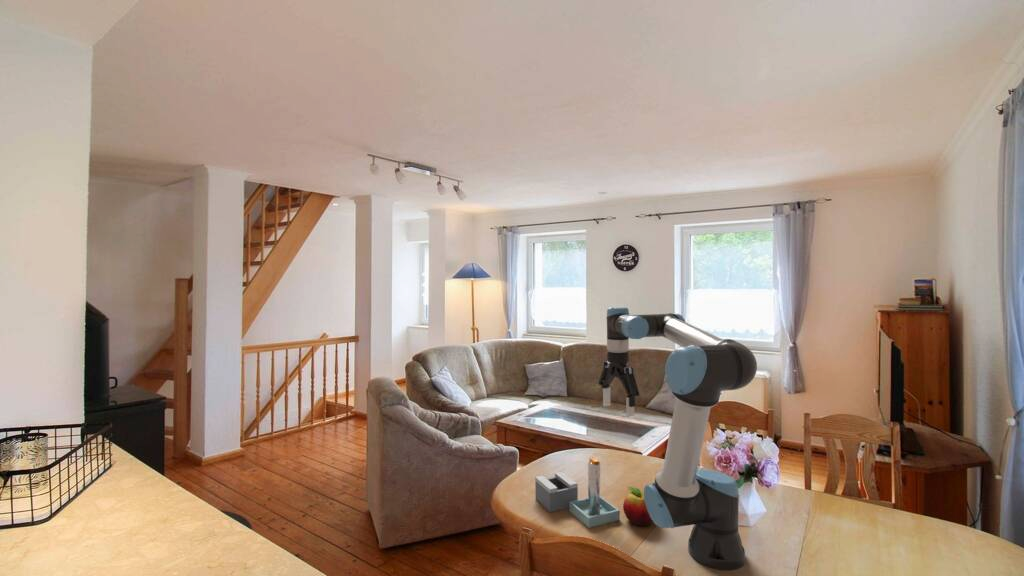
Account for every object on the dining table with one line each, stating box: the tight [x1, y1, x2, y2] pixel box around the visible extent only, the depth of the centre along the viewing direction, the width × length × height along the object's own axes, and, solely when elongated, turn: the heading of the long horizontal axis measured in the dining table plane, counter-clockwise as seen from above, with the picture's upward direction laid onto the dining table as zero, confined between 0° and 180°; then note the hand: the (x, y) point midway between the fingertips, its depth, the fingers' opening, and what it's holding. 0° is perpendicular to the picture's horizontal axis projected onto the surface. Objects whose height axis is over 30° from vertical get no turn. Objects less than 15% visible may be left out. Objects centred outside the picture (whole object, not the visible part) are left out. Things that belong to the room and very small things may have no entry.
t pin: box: [585, 457, 602, 516], centre depth 161 cm, size 7×4×18 cm, turn 24°
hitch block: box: [534, 471, 579, 513], centre depth 171 cm, size 11×11×8 cm
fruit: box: [622, 486, 654, 527], centre depth 157 cm, size 11×11×10 cm
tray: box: [568, 495, 621, 529], centre depth 162 cm, size 12×12×3 cm
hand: (618, 410), depth 170 cm, fingers open, 13 cm apart
